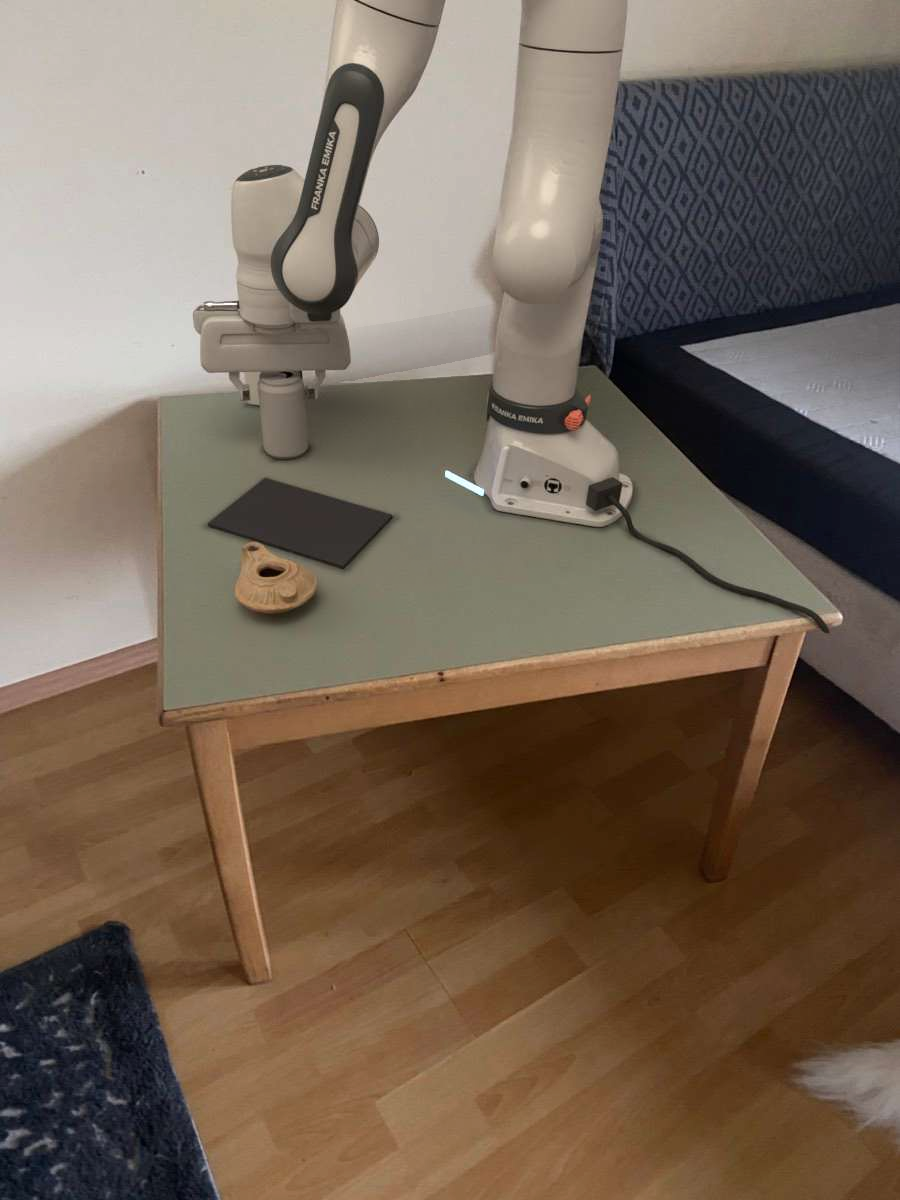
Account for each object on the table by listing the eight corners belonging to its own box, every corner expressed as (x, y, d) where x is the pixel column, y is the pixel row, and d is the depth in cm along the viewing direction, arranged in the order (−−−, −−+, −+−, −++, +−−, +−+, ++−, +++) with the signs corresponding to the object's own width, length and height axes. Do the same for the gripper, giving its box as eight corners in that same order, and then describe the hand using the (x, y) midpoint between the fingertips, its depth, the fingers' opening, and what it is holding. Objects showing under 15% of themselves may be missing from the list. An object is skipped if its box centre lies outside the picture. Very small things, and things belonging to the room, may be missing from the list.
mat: (392, 517, 116) (392, 514, 116) (343, 569, 106) (343, 565, 106) (265, 480, 122) (264, 477, 121) (208, 526, 112) (207, 523, 112)
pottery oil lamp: (283, 553, 108) (305, 517, 103) (306, 635, 102) (330, 601, 97) (214, 549, 103) (234, 510, 98) (234, 635, 97) (256, 599, 92)
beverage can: (315, 455, 128) (311, 378, 121) (275, 466, 125) (268, 387, 118) (296, 437, 132) (290, 361, 125) (257, 447, 129) (248, 370, 122)
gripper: (189, 310, 111) (202, 410, 119) (351, 309, 114) (352, 406, 123) (191, 293, 115) (204, 390, 124) (347, 292, 119) (348, 386, 128)
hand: (279, 398), depth 123 cm, fingers open, 8 cm apart
